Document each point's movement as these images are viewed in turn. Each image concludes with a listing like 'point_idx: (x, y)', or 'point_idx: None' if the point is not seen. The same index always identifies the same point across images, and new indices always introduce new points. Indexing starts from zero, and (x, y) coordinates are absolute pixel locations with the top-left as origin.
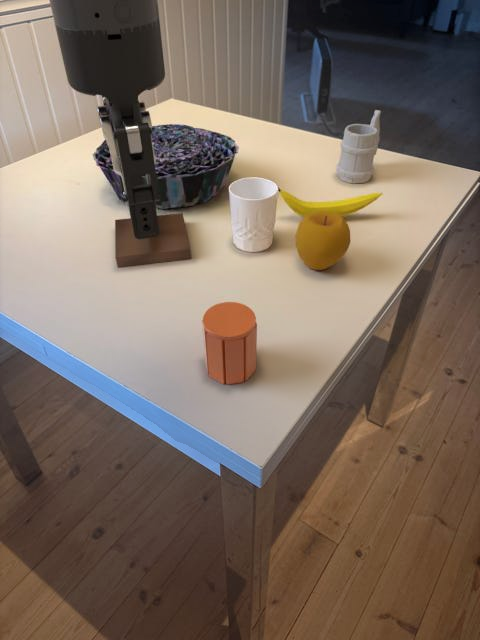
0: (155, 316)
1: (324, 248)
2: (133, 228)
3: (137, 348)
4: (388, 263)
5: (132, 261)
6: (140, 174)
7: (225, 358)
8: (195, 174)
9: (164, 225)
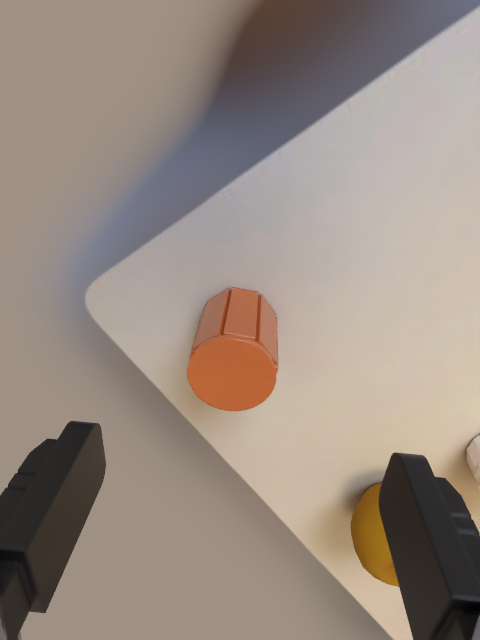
0: (406, 250)
1: (359, 531)
2: (54, 446)
3: (340, 199)
4: (337, 549)
5: None
6: (398, 567)
7: (197, 331)
8: None
9: None
